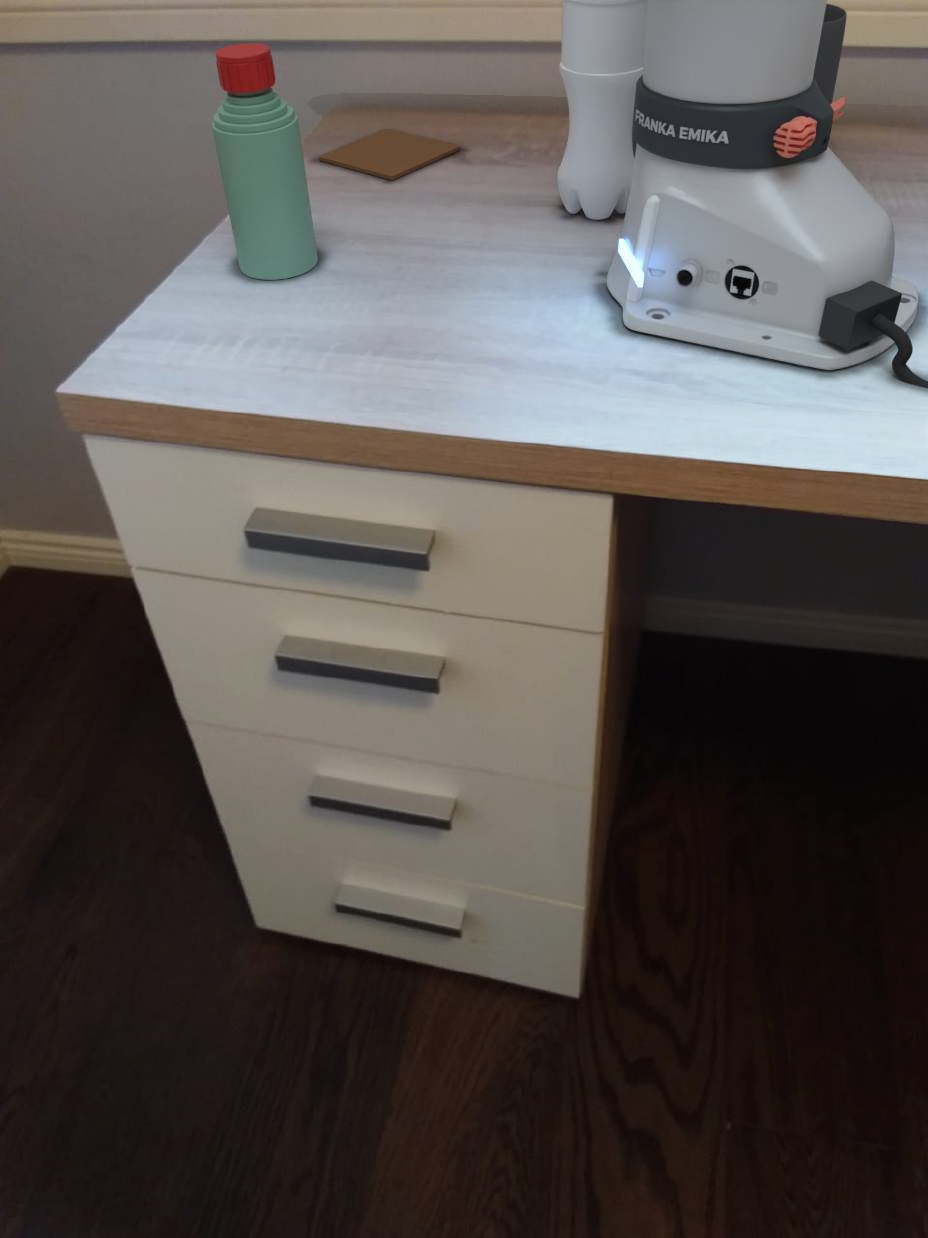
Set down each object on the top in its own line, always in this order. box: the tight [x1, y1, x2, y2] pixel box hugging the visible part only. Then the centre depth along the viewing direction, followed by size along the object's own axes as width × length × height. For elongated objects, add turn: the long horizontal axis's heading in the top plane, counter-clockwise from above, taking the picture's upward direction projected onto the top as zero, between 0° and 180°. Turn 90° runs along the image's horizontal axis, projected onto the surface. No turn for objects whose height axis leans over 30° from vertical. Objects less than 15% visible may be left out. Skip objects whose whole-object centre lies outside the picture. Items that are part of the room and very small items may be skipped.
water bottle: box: [556, 0, 648, 221], centre depth 80 cm, size 7×7×25 cm
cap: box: [214, 42, 277, 93], centre depth 73 cm, size 4×4×2 cm
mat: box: [318, 128, 461, 181], centre depth 101 cm, size 10×10×1 cm
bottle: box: [211, 87, 319, 281], centre depth 78 cm, size 6×6×15 cm
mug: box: [813, 3, 848, 104], centre depth 94 cm, size 14×9×12 cm
